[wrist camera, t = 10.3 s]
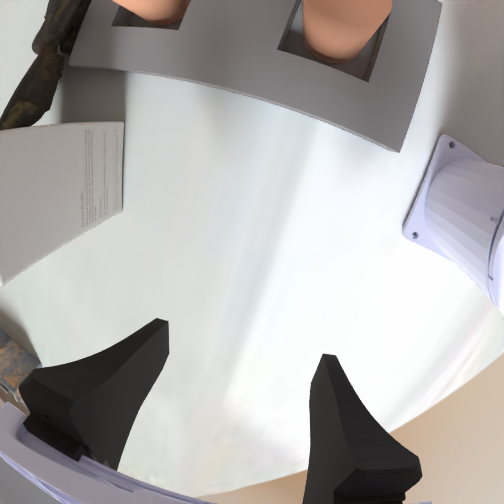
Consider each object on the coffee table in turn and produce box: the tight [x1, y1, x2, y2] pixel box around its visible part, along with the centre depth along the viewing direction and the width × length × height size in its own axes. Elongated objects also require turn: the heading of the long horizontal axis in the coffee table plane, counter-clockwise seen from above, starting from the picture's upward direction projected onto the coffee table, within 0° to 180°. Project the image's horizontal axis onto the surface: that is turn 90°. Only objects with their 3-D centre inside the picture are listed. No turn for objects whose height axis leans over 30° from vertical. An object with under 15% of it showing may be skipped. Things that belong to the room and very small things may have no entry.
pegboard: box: [68, 0, 442, 153], centre depth 14 cm, size 24×12×2 cm, turn 72°
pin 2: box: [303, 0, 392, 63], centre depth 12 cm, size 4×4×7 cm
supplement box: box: [0, 121, 124, 287], centre depth 15 cm, size 7×7×13 cm
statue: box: [0, 0, 84, 131], centre depth 14 cm, size 6×6×20 cm
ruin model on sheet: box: [0, 330, 42, 402], centre depth 29 cm, size 11×3×10 cm, turn 69°
